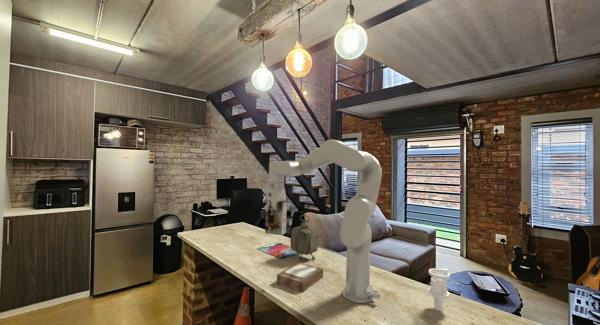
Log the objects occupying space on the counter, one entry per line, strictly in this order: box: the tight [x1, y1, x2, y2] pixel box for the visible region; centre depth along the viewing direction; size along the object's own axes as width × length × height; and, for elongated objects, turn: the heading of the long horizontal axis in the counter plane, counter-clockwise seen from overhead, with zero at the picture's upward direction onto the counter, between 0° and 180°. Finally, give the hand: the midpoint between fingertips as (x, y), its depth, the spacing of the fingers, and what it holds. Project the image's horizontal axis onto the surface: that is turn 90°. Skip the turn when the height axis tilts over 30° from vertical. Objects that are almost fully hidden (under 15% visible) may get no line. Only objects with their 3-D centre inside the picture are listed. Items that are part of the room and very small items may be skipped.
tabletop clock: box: [289, 214, 319, 260], centre depth 148 cm, size 14×9×25 cm, turn 50°
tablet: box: [256, 242, 299, 260], centre depth 161 cm, size 19×25×1 cm
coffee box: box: [264, 200, 288, 236], centre depth 127 cm, size 9×6×16 cm
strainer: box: [428, 268, 451, 312], centre depth 98 cm, size 7×7×15 cm
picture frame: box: [276, 262, 324, 293], centre depth 120 cm, size 14×18×5 cm
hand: (276, 221), depth 127 cm, fingers closed on coffee box, 7 cm apart
